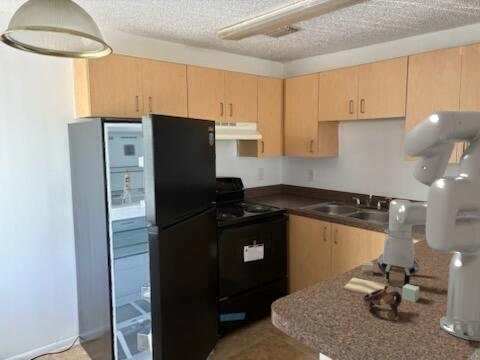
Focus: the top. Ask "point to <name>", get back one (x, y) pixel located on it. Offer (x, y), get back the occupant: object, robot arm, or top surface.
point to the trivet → (363, 286)
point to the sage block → (410, 293)
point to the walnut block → (397, 277)
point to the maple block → (368, 268)
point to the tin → (396, 267)
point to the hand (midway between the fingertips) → (397, 282)
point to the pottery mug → (387, 299)
